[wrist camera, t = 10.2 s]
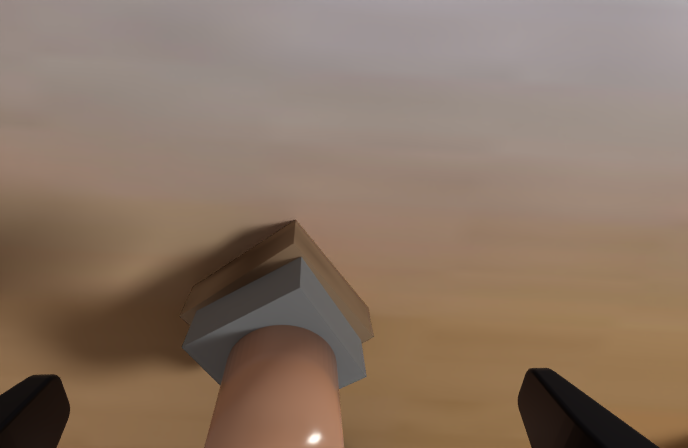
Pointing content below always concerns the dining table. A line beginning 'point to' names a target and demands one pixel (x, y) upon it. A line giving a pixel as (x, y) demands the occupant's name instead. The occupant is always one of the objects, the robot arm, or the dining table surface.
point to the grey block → (274, 320)
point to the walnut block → (271, 257)
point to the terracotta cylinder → (278, 393)
